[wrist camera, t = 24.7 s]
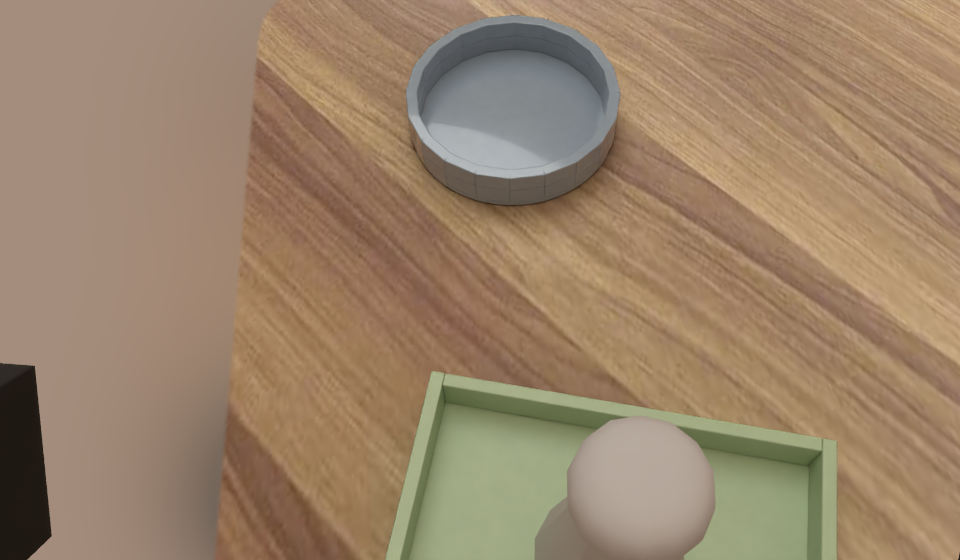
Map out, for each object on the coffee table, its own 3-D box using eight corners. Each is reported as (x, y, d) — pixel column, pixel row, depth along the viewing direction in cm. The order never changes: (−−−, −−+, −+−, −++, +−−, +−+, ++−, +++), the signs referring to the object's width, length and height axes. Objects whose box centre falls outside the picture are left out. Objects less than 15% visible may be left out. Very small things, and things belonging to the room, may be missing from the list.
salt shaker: (503, 578, 36) (498, 484, 25) (590, 475, 38) (622, 344, 27) (618, 682, 34) (670, 632, 23) (704, 567, 36) (790, 467, 25)
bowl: (389, 189, 47) (383, 161, 44) (436, 36, 52) (432, 4, 50) (600, 219, 45) (604, 192, 43) (626, 59, 50) (631, 27, 48)
